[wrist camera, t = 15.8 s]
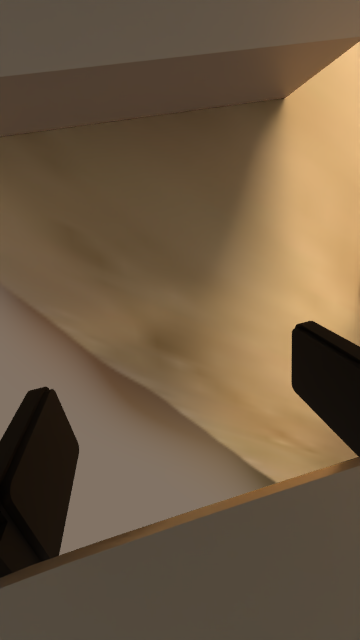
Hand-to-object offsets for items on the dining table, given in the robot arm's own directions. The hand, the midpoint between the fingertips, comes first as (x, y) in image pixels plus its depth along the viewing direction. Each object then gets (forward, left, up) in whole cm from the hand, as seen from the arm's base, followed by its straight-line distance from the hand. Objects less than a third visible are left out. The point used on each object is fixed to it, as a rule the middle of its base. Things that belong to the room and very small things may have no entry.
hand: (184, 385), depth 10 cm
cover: (+10, 0, +5) cm, 11 cm away
